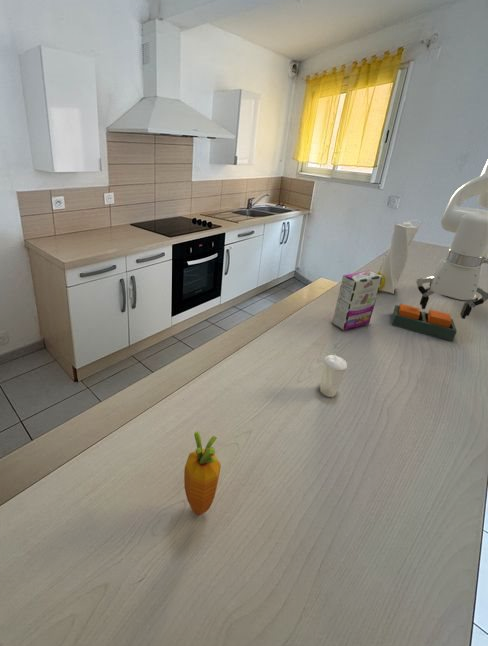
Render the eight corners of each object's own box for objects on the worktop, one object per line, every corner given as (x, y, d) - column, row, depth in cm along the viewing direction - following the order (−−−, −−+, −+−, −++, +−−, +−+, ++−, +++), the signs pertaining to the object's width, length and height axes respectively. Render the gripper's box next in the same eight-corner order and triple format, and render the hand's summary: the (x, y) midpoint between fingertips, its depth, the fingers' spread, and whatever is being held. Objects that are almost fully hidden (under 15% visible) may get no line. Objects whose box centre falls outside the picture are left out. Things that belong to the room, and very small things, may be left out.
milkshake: (337, 385, 74) (347, 349, 70) (339, 401, 69) (350, 364, 66) (316, 380, 75) (325, 344, 72) (316, 396, 71) (326, 359, 67)
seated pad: (396, 315, 105) (400, 303, 103) (414, 320, 102) (418, 308, 101) (396, 322, 101) (400, 310, 99) (415, 327, 98) (419, 314, 97)
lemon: (377, 289, 125) (383, 270, 122) (384, 295, 120) (390, 276, 116) (363, 288, 125) (368, 269, 122) (369, 294, 120) (374, 274, 117)
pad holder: (392, 314, 107) (395, 305, 105) (448, 328, 100) (453, 319, 98) (392, 325, 100) (395, 315, 99) (452, 341, 93) (456, 331, 92)
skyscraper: (398, 289, 126) (422, 218, 115) (398, 296, 119) (423, 222, 108) (374, 283, 130) (395, 214, 119) (372, 290, 123) (394, 218, 112)
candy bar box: (355, 316, 104) (369, 269, 98) (369, 324, 100) (384, 276, 94) (330, 322, 100) (342, 274, 93) (343, 331, 96) (357, 281, 89)
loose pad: (424, 321, 102) (429, 309, 100) (444, 326, 99) (449, 314, 97) (426, 329, 98) (431, 316, 96) (446, 334, 95) (451, 321, 93)
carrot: (180, 496, 50) (184, 425, 44) (212, 495, 50) (220, 424, 44) (182, 533, 45) (187, 459, 39) (217, 530, 46) (227, 457, 40)
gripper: (500, 261, 88) (476, 315, 95) (425, 248, 96) (407, 299, 103) (508, 270, 82) (481, 326, 89) (427, 256, 90) (408, 309, 97)
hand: (442, 311), depth 96 cm, fingers open, 9 cm apart
